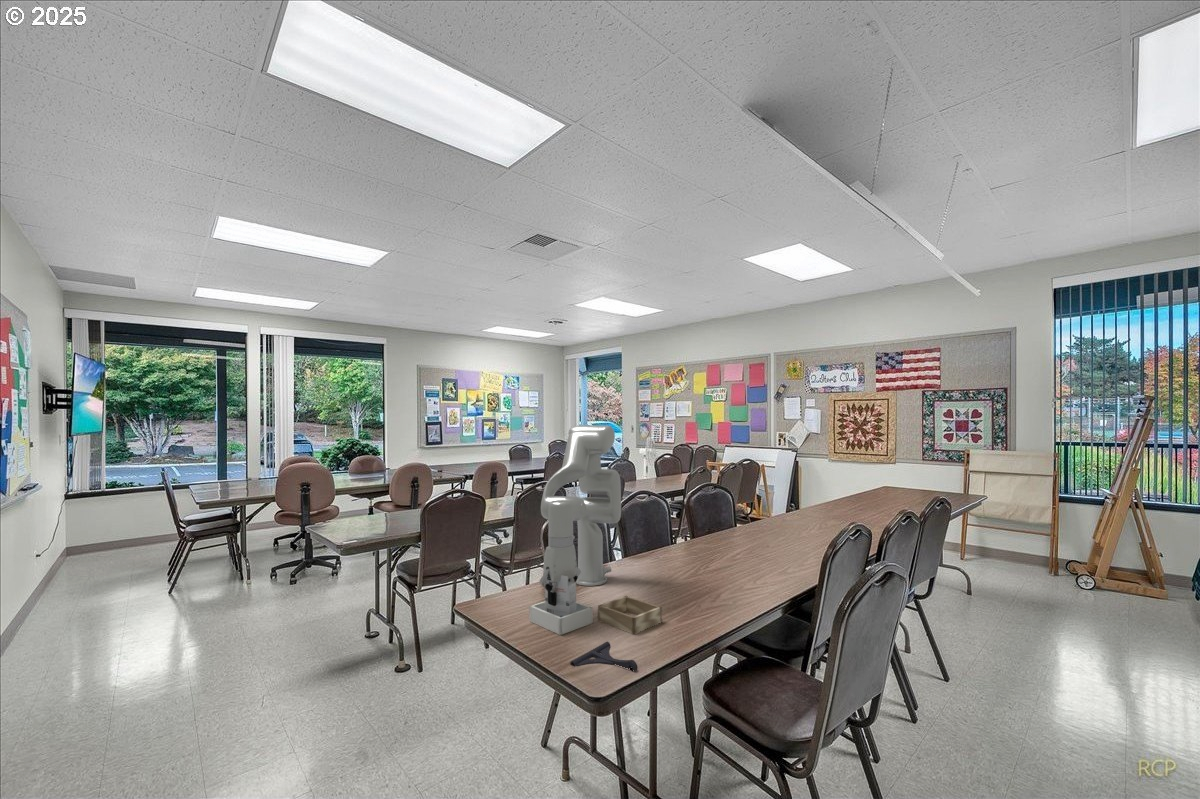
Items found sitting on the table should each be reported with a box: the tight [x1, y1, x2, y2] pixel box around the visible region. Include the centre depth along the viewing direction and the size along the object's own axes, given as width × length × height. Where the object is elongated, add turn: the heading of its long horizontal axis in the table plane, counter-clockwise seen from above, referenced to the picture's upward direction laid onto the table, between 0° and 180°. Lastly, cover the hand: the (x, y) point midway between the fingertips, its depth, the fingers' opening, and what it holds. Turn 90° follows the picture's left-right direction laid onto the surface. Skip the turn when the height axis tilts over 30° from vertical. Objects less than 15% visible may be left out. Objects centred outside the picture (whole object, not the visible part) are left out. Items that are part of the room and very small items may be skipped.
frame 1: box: [528, 600, 594, 636], centre depth 153 cm, size 13×15×4 cm
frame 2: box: [597, 595, 663, 635], centre depth 153 cm, size 13×15×4 cm
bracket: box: [569, 641, 638, 672], centre depth 127 cm, size 14×15×3 cm
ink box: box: [544, 575, 577, 617], centre depth 153 cm, size 9×5×15 cm, turn 62°
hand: (560, 601), depth 153 cm, fingers closed on ink box, 6 cm apart
